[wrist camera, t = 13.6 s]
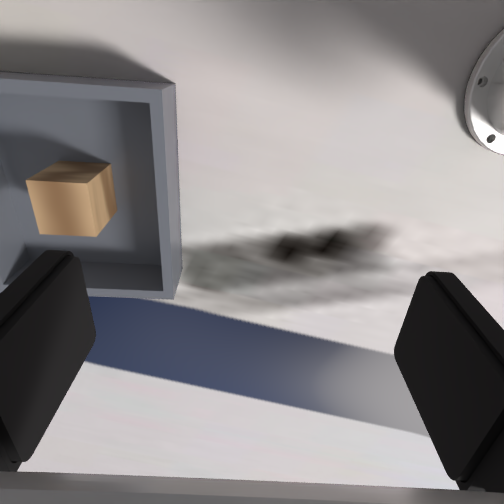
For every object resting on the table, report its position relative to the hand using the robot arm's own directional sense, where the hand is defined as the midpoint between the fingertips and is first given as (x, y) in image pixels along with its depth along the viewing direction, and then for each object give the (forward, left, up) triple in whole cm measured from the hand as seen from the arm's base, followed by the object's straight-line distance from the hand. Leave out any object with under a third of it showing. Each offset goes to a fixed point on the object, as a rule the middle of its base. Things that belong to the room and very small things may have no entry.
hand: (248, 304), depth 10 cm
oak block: (+16, +7, -27) cm, 32 cm away
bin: (+16, +7, -28) cm, 32 cm away
